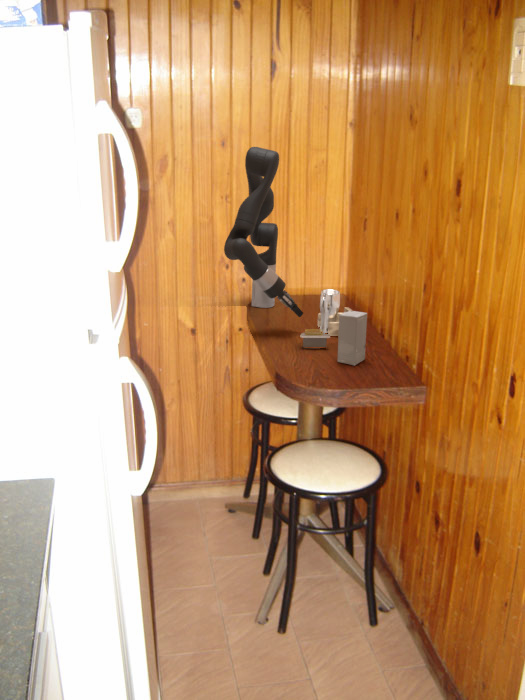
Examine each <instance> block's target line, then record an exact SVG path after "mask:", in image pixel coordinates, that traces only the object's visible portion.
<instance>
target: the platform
mask: <svg viewBox="0 0 525 700" xmlns="http://www.w3.org/2000/svg"><path fill="white" fill-rule="evenodd" d="M304 330H305V331H304V332H301V334H300V336H299V337H300V338H301V339H302V348H303V347H305V348H304V349H307V348H306V347H326V348H327V342H328V341H327V339H330V338H331V337H330V335H328V334H325V333H323V331H321V332H322V333H321V332H320V330H322V329H320V328H319V329H318V328H316V329H314V328H312V329H311V328H310V329H307V328H306V329H304Z"/></svg>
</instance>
